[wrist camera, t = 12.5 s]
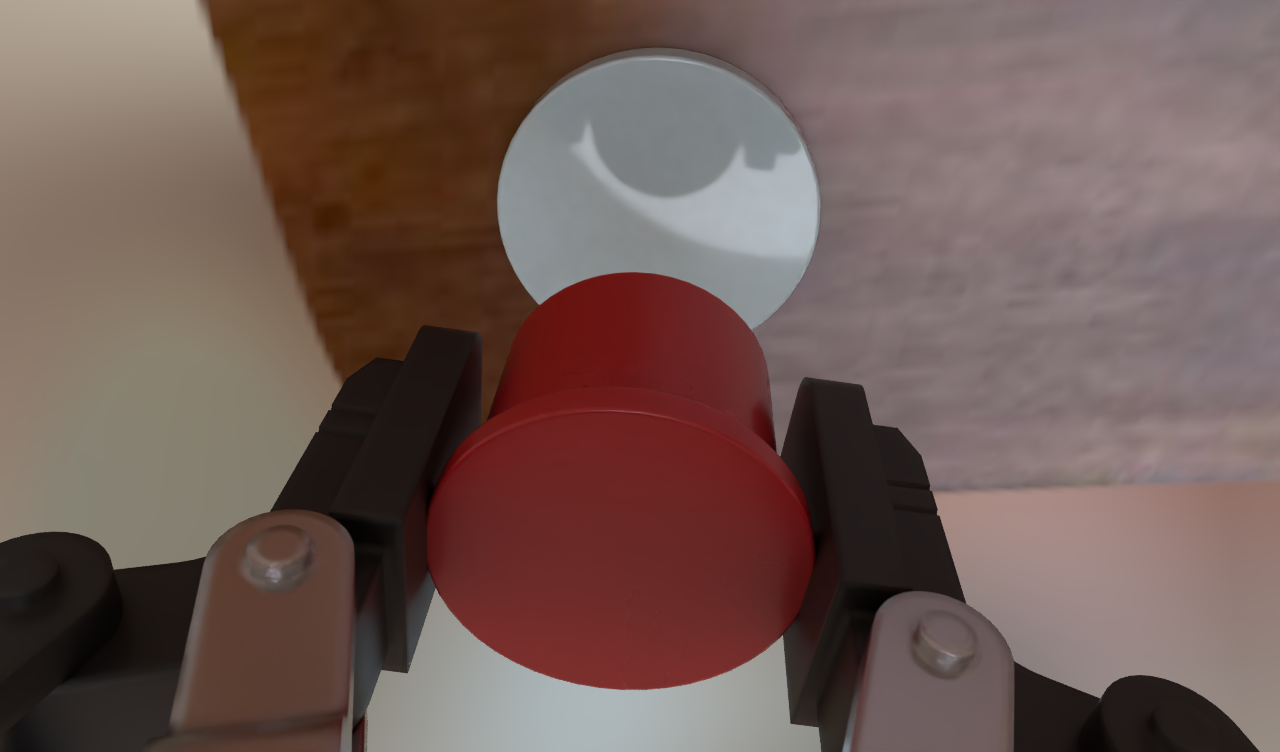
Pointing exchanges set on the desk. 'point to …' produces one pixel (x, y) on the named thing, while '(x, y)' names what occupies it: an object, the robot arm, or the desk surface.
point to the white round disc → (661, 181)
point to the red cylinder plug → (625, 494)
